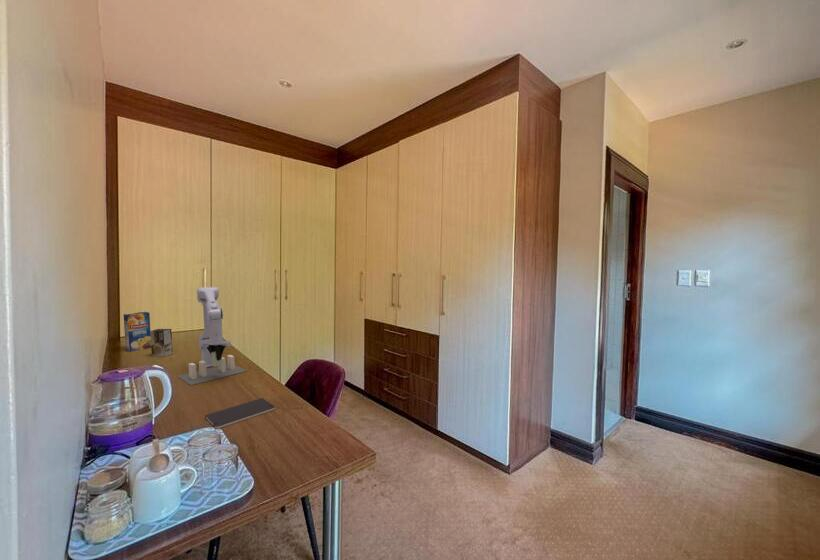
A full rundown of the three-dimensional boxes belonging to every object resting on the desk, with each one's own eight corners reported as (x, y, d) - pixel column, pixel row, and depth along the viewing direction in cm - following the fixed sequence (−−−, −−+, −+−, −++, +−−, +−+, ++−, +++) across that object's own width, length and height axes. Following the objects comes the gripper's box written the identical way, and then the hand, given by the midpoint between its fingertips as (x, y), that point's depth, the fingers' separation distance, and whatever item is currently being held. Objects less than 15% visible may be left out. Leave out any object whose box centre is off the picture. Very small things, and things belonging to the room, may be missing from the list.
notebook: (262, 401, 141) (204, 419, 125) (262, 397, 140) (204, 415, 125) (276, 410, 132) (216, 431, 116) (276, 406, 132) (215, 426, 116)
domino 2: (202, 377, 168) (202, 363, 168) (199, 374, 171) (198, 361, 171) (206, 376, 169) (206, 362, 169) (203, 374, 173) (202, 360, 172)
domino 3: (222, 372, 175) (221, 359, 174) (218, 370, 178) (217, 357, 178) (225, 371, 176) (225, 358, 176) (222, 369, 179) (221, 356, 179)
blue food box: (147, 346, 232) (145, 311, 231) (151, 347, 228) (149, 312, 226) (125, 350, 222) (123, 314, 221) (129, 351, 218) (127, 315, 217)
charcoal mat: (177, 376, 170) (177, 375, 170) (231, 364, 190) (231, 363, 190) (190, 385, 157) (190, 384, 157) (247, 371, 177) (246, 370, 177)
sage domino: (212, 366, 166) (211, 352, 165) (219, 363, 170) (218, 349, 170) (215, 366, 165) (214, 352, 165) (222, 363, 170) (221, 349, 170)
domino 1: (192, 379, 165) (191, 365, 164) (189, 377, 168) (188, 363, 167) (196, 378, 166) (195, 364, 166) (193, 376, 169) (192, 362, 169)
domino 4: (231, 370, 178) (230, 357, 178) (227, 368, 181) (227, 355, 181) (234, 369, 180) (234, 356, 179) (231, 367, 183) (230, 354, 182)
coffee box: (173, 353, 212) (172, 328, 211) (164, 356, 206) (163, 330, 205) (160, 353, 213) (158, 328, 212) (151, 356, 207) (149, 330, 206)
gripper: (196, 334, 164) (197, 361, 165) (223, 335, 162) (225, 362, 163) (206, 331, 171) (208, 357, 172) (233, 331, 169) (234, 358, 170)
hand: (216, 359), depth 168 cm, fingers closed on sage domino, 2 cm apart
